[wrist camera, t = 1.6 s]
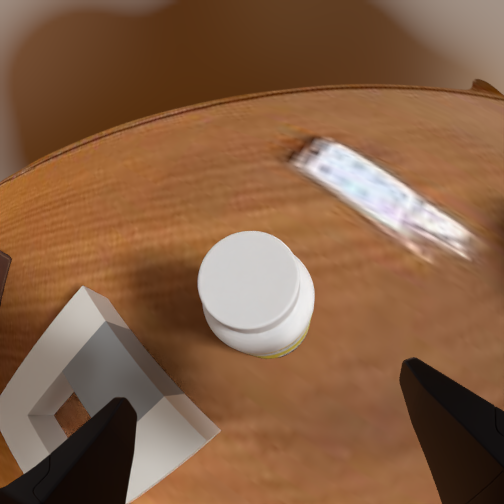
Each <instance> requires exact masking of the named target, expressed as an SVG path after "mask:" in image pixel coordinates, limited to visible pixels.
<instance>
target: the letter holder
mask: <svg viewBox="0 0 504 504" xmlns="http://www.w3.org/2000/svg"><path fill="white" fill-rule="evenodd" d="M11 260H12V259H11V257H10V256H8V255H7V254H5V253H3V252H2V251H0V305H1V300H2V295H3V291H4V286H5V282H6V278H7V274H8V271H9V267H10V263H11Z"/></svg>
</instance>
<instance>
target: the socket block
mask: <svg viewBox="0 0 504 504" xmlns="http://www.w3.org/2000/svg"><path fill="white" fill-rule="evenodd" d="M73 392H75V394H76V395H77V397H78V398H79V400H80V401H81V403H82V404H83V406H84V407H85V409H86V410H87V412H88V413H89V415H90V416H91V418H92V417H93V416H94V415H95V414H96V413H97V412H98V411H100V410H101V409H102V408H103V407H104V406H105V405H106V404H107V403H109V402H110V401H111V400H112V399H113V398H115V397H125V398H127V399H128V401H129V402H130V403H131V405H132V406H133V408H134V409H135V411H136V413H137V427H136V438H135V450H134V457H133V463H132V468H131V474H130V479H129V485H128V491H127V497H126V504H129V503H131V502H132V501H133V500H135V499H136V498H138V497H139V496H141V495H142V494H143V493H145V492H146V491H148V490H149V489H150V488H152V487H153V486H154V485H156V484H157V483H158V482H160V481H161V480H162V479H164V478H165V477H166V476H168V475H169V474H170V473H172V472H173V471H174V470H175V469H177V468H178V467H179V466H180V465H182V464H183V463H184V462H185V461H187V460H188V459H189V458H190V457H191V456H193V455H194V454H195V453H196V452H197V451H199V450H200V449H201V448H202V447H203V446H204V445H206V444H207V443H208V442H209V441H210V440H211V439H212V438H214V437H215V436H216V435H217V434H218V433H219V432H220V431H221V430H220V429H219V428H218V427H217V426H216V425H215V424H214V423H213V422H212V421H211V420H210V419H209V418H208V417H207V416H206V415H205V414H204V413H203V412H202V411H201V410H200V409H199V408H198V407H197V406H196V405H195V404H194V403H193V402H192V401H191V400H190V399H189V398H188V397H187V396H186V395H185V394H184V393H183V391H182V390H181V389H180V388H179V387H178V386H177V385H176V384H175V383H174V382H173V381H172V379H171V378H170V377H169V376H168V375H167V374H166V373H165V371H164V370H163V369H162V368H161V367H160V366H159V364H158V363H157V362H156V361H155V360H154V359H153V357H152V356H151V355H150V354H149V353H148V351H147V350H146V349H145V348H144V346H143V345H142V344H141V343H140V341H139V340H138V339H137V338H136V336H135V335H134V334H133V332H132V331H131V330H130V329H129V327H128V326H127V325H126V323H125V322H124V321H123V319H122V318H121V316H120V315H119V314H118V312H117V311H116V310H115V308H114V307H113V305H112V304H111V303H110V301H109V300H108V298H106V297H104V296H102V295H100V294H98V293H96V292H94V291H92V290H91V289H89V288H87V287H85V286H82V287H81V288H80V289H79V290H78V291H77V293H76V294H75V295H74V296H73V297H72V299H71V300H70V301H69V302H68V303H67V305H66V306H65V307H64V308H63V309H62V311H61V312H60V313H59V314H58V316H57V317H56V318H55V319H54V321H53V322H52V323H51V324H50V326H49V327H48V328H47V330H46V331H45V332H44V333H43V335H42V336H41V337H40V339H39V340H38V341H37V343H36V344H35V345H34V347H33V348H32V350H31V351H30V352H29V354H28V355H27V357H26V358H25V359H24V361H23V362H22V364H21V365H20V367H19V368H18V369H17V371H16V372H15V374H14V375H13V377H12V378H11V380H10V381H9V383H8V384H7V386H6V388H5V389H4V391H3V392H2V394H1V395H0V431H1V433H2V435H3V437H4V439H5V441H6V443H7V445H8V447H9V449H10V450H11V452H12V454H13V456H14V458H15V459H16V461H17V463H18V465H19V466H20V468H21V470H22V471H23V473H24V474H25V473H26V472H28V471H29V470H31V469H32V468H33V467H35V466H36V465H37V464H38V463H40V462H41V461H42V460H43V459H44V458H46V457H47V456H48V455H49V454H50V455H51V452H53V451H54V450H55V449H56V448H57V447H58V446H60V445H61V444H62V443H63V442H64V441H65V440H67V439H68V437H67V436H66V434H65V433H64V431H63V429H62V428H61V426H60V425H59V423H58V421H57V420H56V418H55V416H54V414H55V413H56V412H57V411H58V410H59V408H60V407H61V406H62V405H63V404H64V403H65V401H66V400H67V399H68V398H69V397H70V396H71V395H72V393H73Z"/></svg>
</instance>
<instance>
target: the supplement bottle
mask: <svg viewBox="0 0 504 504" xmlns="http://www.w3.org/2000/svg"><path fill="white" fill-rule="evenodd" d="M198 292H199V296H200V299H201V301H202V303H203V311H204V315H205V318H206V320H207V323H208V325H209V326H210V328H211V330H212V331H213V332H214V334H215V335H216V336H217V337H218V338H219V339H220V340H221V341H223V342H224V343H225V344H227V345H228V346H230V347H232V348H233V349H236V350H238V351H241V352H243V353H246V354H249V355H252V356H255V357H259V358H265V359H272V358H279V357H283V356H285V355H287V354H289V353H291V352H292V351H294V350H295V349H296V348H297V347H298V346H299V345H300V344H301V343H302V341H303V340H304V338H305V337H306V334H307V332H308V329H309V325H310V321H311V317H312V314H313V308H314V287H313V282H312V279H311V277H310V274H309V272H308V270H307V269H306V267H305V266H304V264H303V263H302V262H301V261H300V260H299V259H298V258H297V257H296V256H295V255H293V253H292V252H291V250H290V249H289V248H288V247H287V245H285V244H284V243H283V242H282V241H281V240H279V239H278V238H276V237H274V236H272V235H270V234H267V233H264V232H259V231H243V232H238V233H235V234H232V235H229V236H227V237H226V238H224V239H222V240H220V241H219V242H218V243H217V244H215V245H214V246H213V247H212V248H211V249H210V250H209V252H208V253H207V254H206V256H205V258H204V259H203V261H202V264H201V266H200V269H199V274H198Z"/></svg>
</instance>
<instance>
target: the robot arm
mask: <svg viewBox="0 0 504 504" xmlns="http://www.w3.org/2000/svg"><path fill="white" fill-rule="evenodd" d="M399 380H400V386H401V389H402V392H403V395H404V399H405V402H406V405H407V409H408V412H409V416H410V419H411V422H412V425H413V428H414V430H415V432H416V435H417V437H418V440H419V442H420V445H421V447H422V450H423V452H424V455H425V457H426V460H427V463H428V465H429V468H430V470H431V473H432V476H433V479H434V481H435V484H436V487H437V490H438V493H439V496H440V499H441V502H442V504H504V411H503V410H501V409H499V408H498V407H495V406H494V405H493V404H491V403H489V402H488V401H486V400H485V399H483V398H481V397H480V396H478V395H476V394H475V393H473V392H471V391H470V390H468V389H467V388H465V387H463V386H462V385H460V384H458V383H457V382H455V381H454V380H452V379H450V378H449V377H447V376H445V375H444V374H442V373H441V372H439V371H437V370H436V369H434V368H432V367H431V366H429V365H427V364H426V363H424V362H423V361H421V360H419V359H418V358H415V357H413V358H409V359H406V360H404V361H403V363H402V367H401V373H400V379H399ZM136 427H137V413H136V411H135V409H134V408H133V406H132V405H131V403H130V402H129V401H128V399H127V398H125V397H115V398H113V399H112V400H111V401H110V402H109V403H107V404H106V405H105V406H104V407H103V408H102V409H101V410H100V411H98V412H97V413H96V414H95V415H94V416H93V417H92V418H91V419H89V420H88V421H87V422H86V423H85V424H84V425H83V426H81V427H80V428H79V429H78V430H77V431H76V432H75V433H73V434H72V435H71V436H70V437H69V438H68V439H67V440H65V441H64V442H63V443H62V444H61V445H60V446H58V447H57V448H56V449H55V450H54V451H53V452H51V455H50V454H49V455H48V456H47V457H46V458H44V459H43V460H42V461H41V462H40V463H38V464H37V465H36V466H35V467H33V468H32V469H31V470H29V471H28V472H26V473H25V474H23V475H22V476H21V477H19V478H18V479H16V480H15V481H13V482H12V483H10V484H9V485H7V486H5V487H3V488H0V504H126V497H127V491H128V485H129V479H130V474H131V468H132V463H133V457H134V450H135V438H136Z"/></svg>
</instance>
